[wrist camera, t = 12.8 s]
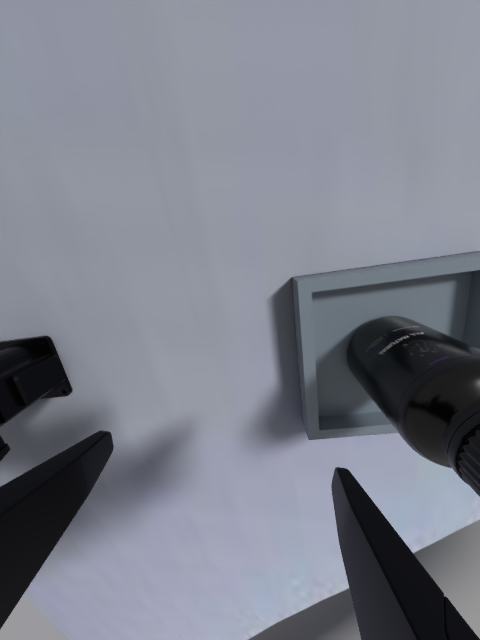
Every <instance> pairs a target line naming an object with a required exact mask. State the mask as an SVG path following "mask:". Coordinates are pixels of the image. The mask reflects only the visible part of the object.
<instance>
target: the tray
mask: <svg viewBox="0 0 480 640" xmlns="http://www.w3.org/2000/svg"><path fill="white" fill-rule="evenodd" d="M292 289H293V301H294V314H295V327H296V340H297V352H298V365H299V378H300V391H301V404H302V416H303V423H304V426H305V429H306V433H307V436H308V439H309V440H315V439H327V438H339V437H352V436H364V435H376V434H388V433H398V431H397V430H396V429H395V428H394V426H393V425H392V424H391V423H390V421H389V420H388V419H387V418H386V416H385V415H384V414H383V412H382V411H381V410H380V409H379V407H378V406H377V405H376V404H375V402H374V401H373V400H372V399H371V397H370V396H369V395H368V394H367V392H366V391H365V390H364V388H363V387H362V386H361V385H360V383H359V382H358V381H357V380H356V378H355V377H354V376H353V374H352V373H351V371H350V369H349V367H348V364H347V348H348V345H349V343H350V340H351V339H352V337H353V336H354V334H355V333H356V332H357V331H358V330H359V329H360V328H361V327H362V326H364V325H365V324H367V323H368V322H370V321H372V320H374V319H377V318H380V317H385V316H401V317H406V318H409V319H411V320H414V321H416V322H419V323H421V324H423V325H426V326H428V327H430V328H432V329H435V330H437V331H439V332H441V333H444V334H446V335H448V336H450V337H453V338H455V339H457V340H459V341H461V342H464V343H466V344H468V345H470V346H473V347H475V348H477V349H479V350H480V251H477V252H469V253H462V254H455V255H448V256H441V257H434V258H426V259H419V260H412V261H405V262H398V263H391V264H383V265H376V266H369V267H362V268H355V269H348V270H340V271H333V272H326V273H319V274H312V275H305V276H297V277H292Z"/></svg>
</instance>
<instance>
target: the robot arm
mask: <svg viewBox="0 0 480 640" xmlns="http://www.w3.org/2000/svg"><path fill="white" fill-rule="evenodd" d="M44 340H45V341H46V342H45V341H44ZM71 392H72V388H71V386H70V383H69V381H68V378H67V376H66V374H65V371H64V369H63V366H62V364H61V361H60V359H59V357H58V354H57V352H56V349H55V347H54V344H53V342H52V340H51V338H50V337H48V336H39V337H32V338H24V339H16V340H9V341H1V342H0V427H1V426H2V425H4V424H5V423H6V422H8V421H9V420H11V419H12V418H13V417H15V416H16V415H18V414H19V413H21V412H22V411H23V410H25V409H26V408H28V407H29V406H30V405H32V404H33V403H35V402H36V401H38V400H39V399H43V398H52V397H61V396H68V395H69V394H70V393H71ZM9 450H10V447H9V446H8V444H7V443H6V444H5V442H4V440H3V439H2V437H1V435H0V461H1V460H2V459H3V457H4V456H5V455H6V454H7V453H8V452H9ZM112 451H113V441H112V436H111V433H110V432H108V431H98V432H96V433H95V434H93V435H91V436H89V437H88V438H86V439H84V440H82V441H81V442H79V443H77V444H75V445H74V446H72V447H70V448H68V449H66V450H65V451H63V452H61V453H59V454H58V455H56V456H54V457H52V458H51V459H49V460H47V461H45V462H43V463H42V464H40V465H38V466H36V467H35V468H33V469H31V470H29V471H28V472H26V473H24V474H22V475H20V476H19V477H17V478H15V479H13V480H12V481H10V482H8V483H6V484H5V485H3V486H1V487H0V629H1V627H2V626H3V624H4V623H5V621H6V620H7V618H8V616H9V615H10V614H11V612H12V611H13V609H14V608H15V606H16V605H17V603H18V602H19V600H20V598H21V597H22V595H23V594H24V592H25V591H26V589H27V588H28V586H29V585H30V583H31V582H32V580H33V579H34V577H35V576H36V574H37V573H38V571H39V570H40V568H41V567H42V565H43V564H44V562H45V561H46V559H47V557H48V556H49V554H50V553H51V551H52V550H53V548H54V547H55V545H56V544H57V542H58V541H59V539H60V538H61V536H62V535H63V533H64V532H65V530H66V529H67V527H68V526H69V524H70V522H71V521H72V519H73V518H74V516H75V515H76V513H77V512H78V510H79V509H80V507H81V506H82V504H83V503H84V501H85V500H86V498H87V496H88V495H89V493H90V492H91V490H92V488H93V486H94V485H95V483H96V481H97V479H98V477H99V476H100V474H101V472H102V470H103V468H104V466H105V465H106V463H107V461H108V459H109V457H110V456H111V454H112ZM332 495H333V502H334V510H335V517H336V524H337V531H338V538H339V544H340V548H341V553H342V557H343V562H344V566H345V570H346V575H347V579H348V583H349V588H350V592H351V596H352V601H353V605H354V609H355V614H356V618H357V622H358V626H359V631H360V635H361V640H480V639H479V638H478V636H477V635H476V634H475V633H474V631H473V630H472V629H471V628H470V626H469V625H468V624H467V623H466V622H465V620H464V619H463V618H462V616H461V615H460V614H459V612H458V611H457V610H456V608H455V607H454V606H453V605H452V603H451V602H450V601H449V599H448V598H447V597H444V593H443V592H442V591H441V589H440V588H439V587H438V585H437V584H436V583H435V581H434V580H433V579H432V578H431V576H430V575H429V574H428V572H427V571H426V570H425V568H424V567H423V566H422V565H421V563H420V562H419V561H418V559H417V558H416V557H415V556H414V554H413V553H412V552H411V550H410V549H409V548H408V546H407V545H406V544H405V543H404V541H403V540H402V539H401V537H400V536H399V535H398V533H397V532H396V531H395V530H394V528H393V527H392V526H391V524H390V523H389V522H388V520H387V519H386V518H385V517H384V515H383V514H382V513H381V511H380V510H379V509H378V508H377V506H376V505H375V504H374V502H373V501H372V500H371V498H370V497H369V496H368V495H367V493H366V492H365V491H364V489H363V488H362V487H361V485H360V484H359V483H358V482H357V480H356V479H355V478H354V476H353V475H352V474H351V473H350V471H349V470H348V469H345V468H339V467H337V468H335V471H334V475H333V480H332Z"/></svg>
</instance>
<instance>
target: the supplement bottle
mask: <svg viewBox="0 0 480 640" xmlns="http://www.w3.org/2000/svg"><path fill="white" fill-rule="evenodd" d="M347 364H348V367H349V369H350V371H351V373H352V374H353V376H354V377H355V378H356V380H357V381H358V382H359V383H360V385H361V386H362V387H363V388H364V390H365V391H366V392H367V394H368V395H369V396H370V397H371V399H372V400H373V401H374V402H375V404H376V405H377V406H378V407H379V409H380V410H381V411H382V412H383V414H384V415H385V416H386V418H387V419H388V420H389V421H390V423H391V424H392V425H393V426H394V428H395V429H396V430H397V431H398V433H399V434H400V435H401V436H402V438H403V439H404V440H405V441H406V442H407V444H408V445H409V446H410V447H411V448H412V449H413V450H414V451H415V452H417V453H418V454H419V455H421V456H422V457H424V458H426V459H428V460H430V461H432V462H434V463H436V464H439V465H442V466H445V467H449V468H452V469H453V470H454V471H455V472H456V473H457V474H458V476H459V477H460V478H461V479H462V480H463V481H464V482H466V483H467V484H468V485H470V487H471V488H472V489H473V490H474V491H475V492H476V493H477V494H478V495H479V496H480V350H479V349H477V348H475V347H473V346H470V345H468V344H466V343H464V342H461V341H459V340H457V339H455V338H453V337H450V336H448V335H446V334H444V333H441V332H439V331H437V330H435V329H432V328H430V327H428V326H426V325H423V324H421V323H419V322H416V321H414V320H411V319H409V318H406V317H401V316H385V317H380V318H377V319H374V320H372V321H370V322H368V323H367V324H365V325H364V326H362V327H361V328H360V329H359V330H358V331H357V332H356V333H355V334H354V336H353V337H352V339H351V340H350V343H349V345H348V348H347Z"/></svg>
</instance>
